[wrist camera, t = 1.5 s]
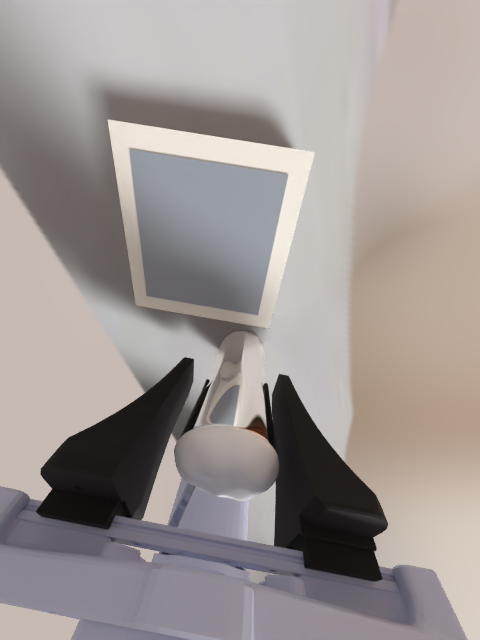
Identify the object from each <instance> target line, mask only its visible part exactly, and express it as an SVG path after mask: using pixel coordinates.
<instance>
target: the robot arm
mask: <svg viewBox="0 0 480 640" xmlns="http://www.w3.org/2000/svg"><path fill="white" fill-rule="evenodd" d="M193 371H194V359H191V358H183V359H182V360H181V361H180V362H179V363H178V364H177V365H176V366H175V367H174V368H173V369H172V370H171V371H170V372H169V373H168V374H167V375H166V376H165V377H164V378H163V379H162V380H160V381H159V382H158V383H157V384H156V385H154V386H153V387H152V388H151V389H150V390H148V391H147V392H146V393H144V394H143V395H142V396H140V397H139V398H138V399H136V400H135V401H134V402H132V403H130V404H129V405H127V406H126V407H124V408H123V409H121V410H120V411H118V412H116V413H115V414H113V415H111V416H109V417H108V418H106V419H104V420H102V421H101V422H99V423H97V424H95V425H94V426H91V427H89V428H87V429H85V430H83V431H81V432H79V433H77V434H75V435H73V436H71V437H69V438H68V439H67V440H66V441H65V442H64V443H63V444H62V445H61V446H60V447H59V448H58V449H57V450H56V452H55V453H54V454H53V455H52V456H51V458H50V459H49V460H48V461H47V462H46V463H45V464H44V466H43V467H42V468H41V475H42V477H43V478H44V480H45V481H46V482H47V483H48V484H49V485H50V487H51V488H52V490H51V492H50V493H49V494H48V496H47V497H46V498H45V500H44V501H38V500H33V499H30V497H29V496H28V495H27V494H26V493H24V492H22V491H19V490H15V489H10V488H5V487H0V603H3V604H8V605H13V606H18V607H23V608H28V609H33V610H38V611H42V612H47V613H52V614H58V615H62V616H67V617H71V618H76V619H80V621H79V623H78V625H77V627H76V630H75V632H74V634H73V636H72V638H71V640H468V639H467V637H466V635H465V633H464V631H463V629H462V627H461V625H460V623H459V621H458V619H457V616H456V614H455V612H454V610H453V608H452V606H451V604H450V602H449V600H448V598H447V596H446V593H445V591H444V589H443V587H442V585H441V583H440V581H439V579H438V577H437V574H436V573H435V572H434V571H433V570H430V569H425V568H420V567H415V566H409V565H398V566H395V567H393V569H390V568H385V567H380V566H378V562H377V559H376V557H375V553H374V551H376V545H375V542H374V539H373V537H375V536H377V535H378V534H380V533H382V532H383V531H385V530H386V529H387V526H388V523H387V520H386V517H385V515H384V512H383V510H382V507H381V505H380V503H379V501H378V499H377V497H376V495H375V494H374V493H373V492H372V491H371V490H370V489H369V488H368V486H366V484H365V483H364V482H363V481H361V479H360V478H359V477H358V476H356V474H355V473H354V472H353V471H352V470H351V469H350V468H349V467H348V466H347V465H346V463H345V462H344V461H343V460H342V459H341V458H340V456H339V455H338V454H337V453H336V451H335V450H334V449H333V448H332V447H331V445H330V444H329V443H328V442H327V440H326V439H325V438H324V436H323V435H322V433H321V432H320V431H319V429H318V428H317V426H316V425H315V423H314V422H313V420H312V419H311V417H310V415H309V414H308V412H307V410H306V409H305V407H304V405H303V403H302V402H301V400H300V398H299V396H298V394H297V392H296V390H295V388H294V386H293V384H292V382H291V380H290V378H289V376H287V375H281V374H279V376H278V379H277V382H276V385H275V388H274V391H273V394H272V416H273V426H274V432H275V439H276V445H277V452H278V459H279V473H278V476H277V479H276V507H275V537H274V546H271V545H266V544H261V543H255V542H250V541H247V528H248V507H249V500H246V501H237V500H235V499H231V498H226V497H218V496H214V495H211V494H209V493H207V492H205V491H203V490H201V489H199V488H197V487H195V489H194V491H193V494H192V496H191V499H190V501H189V503H188V506H187V508H186V511H185V513H184V516H183V518H182V520H181V523H180V525H179V528H178V527H173V526H169V524H170V521H171V519H172V517H173V514H174V512H175V510H176V508H177V505H178V503H179V501H180V499H181V496H182V494H183V492H184V489H185V487H186V485H187V482H186V481H185V480H184V479H183V478H182V479H181V482H180V486H179V489H178V492H177V495H176V499H175V502H174V505H173V509H172V512H171V515H170V519H169V522H168V525H162V524H157V523H152V522H147V521H142V520H141V519H142V518H143V516H144V513H145V510H146V507H147V503H148V500H149V497H150V494H151V490H152V488H153V484H154V481H155V478H156V475H157V472H158V469H159V466H160V463H161V460H162V457H163V455H164V452H165V449H166V446H167V443H168V440H169V438H170V435H171V432H172V430H173V428H174V425H175V423H176V421H177V419H178V417H179V414H180V412H181V410H182V408H183V406H184V404H185V401H186V399H187V397H188V395H189V392H190V389H191V386H192V383H193ZM122 544H125V545H130V546H135V547H140V548H145V549H150V550H155V551H160V552H159V554H157V553H155V554H154V557H153V559H152V563H150V562H146V561H145V560H144V559H142V558H141V557H140V550H137V549H134V548H131V547H128V546H125V545H122ZM246 568H247V569H252V570H257V571H263V572H268V573H273V574H278V575H267V576H266V577H265V581H264V582H261V583H259V584H257V583H253V582H250V572H248V571H246Z"/></svg>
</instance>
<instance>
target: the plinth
mask: <svg viewBox="0 0 480 640" xmlns="http://www.w3.org/2000/svg"><path fill="white" fill-rule="evenodd" d="M108 126H109V132H110V139H111V145H112V152H113V159H114V165H115V172H116V178H117V185H118V192H119V198H120V205H121V211H122V218H123V225H124V231H125V238H126V244H127V251H128V258H129V264H130V271H131V277H132V284H133V291H134V297H135V304H136V306H142V307H148V308H153V309H159V310H165V311H171V312H176V313H182V314H188V315H194V316H199V317H205V318H211V319H217V320H222V321H228V322H234V323H239V324H245V325H251V326H257V327H262V328H268V329H269V327H270V323H271V319H272V315H273V311H274V307H275V304H276V300H277V296H278V292H279V288H280V284H281V281H282V277H283V273H284V269H285V265H286V261H287V258H288V254H289V250H290V246H291V242H292V238H293V234H294V231H295V227H296V223H297V219H298V215H299V211H300V208H301V204H302V200H303V196H304V192H305V188H306V185H307V181H308V177H309V173H310V169H311V165H312V161H313V158H314V154H315V152H311V151H304V150H298V149H292V148H285V147H279V146H273V145H266V144H260V143H254V142H247V141H241V140H235V139H228V138H222V137H216V136H209V135H203V134H197V133H190V132H184V131H178V130H171V129H165V128H159V127H152V126H146V125H140V124H133V123H127V122H121V121H114V120H108Z"/></svg>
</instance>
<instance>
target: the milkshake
mask: <svg viewBox="0 0 480 640" xmlns="http://www.w3.org/2000/svg"><path fill="white" fill-rule="evenodd" d="M174 453H175V462H176V467H177V469H178V472H179V474H180V476H181V477H182V478H183V479H184V480H185V481H186V482H187V485H186V487H185V489H184V492H183V494H182V496H181V499H180V501H179V503H178V505H177V508H176V510H175V512H174V514H173V517H172V519H171V521H170V524H169V526H173V527H178V528H179V525H180V523H181V520H182V518H183V516H184V513H185V511H186V508H187V506H188V503H189V501H190V499H191V496H192V494H193V491H194V489H195V487H197V488H199V489H201V490H203V491H205V492H207V493H209V494H211V495H214V496H218V497H226V498H231V499H235V500H237V501H246V500H249V499H251V498H252V497H254V496H256V495H258V494H260V493H262V492H265V491H267V490H268V489H269V488H270V487H271V486H272V485H273V483H274V482H275V480H276V479H277V476H278V473H279V459H278V452H277V445H276V439H275V432H274V426H273V419H272V413H271V406H270V398H269V389H268V381H267V373H266V364H265V356H264V348H263V345H262V343H261V342H260V340H259V338H258V336H256V335H254V334H251V333H249V332H247V331H238V332H232V333H231V334H230V335H228V336H227V337H226V338H225V339H224V340H223V342H222V344H221V346H220V349H219V351H218V353H217V356H216V358H215V360H214V363H213V365H212V367H211V370H210V372H209V374H208V377H207V379H206V381H205V384H204V386H203V388H202V391H201V393H200V395H199V397H198V399H197V401H196V404H195V406H194V408H193V410H192V412H191V414H190V416H189V418H188V421H187V423H186V425H185V427H184V429H183V431H182V433H181V436H180V438H179V440H178V441H177V443H176V446H175V450H174Z"/></svg>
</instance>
